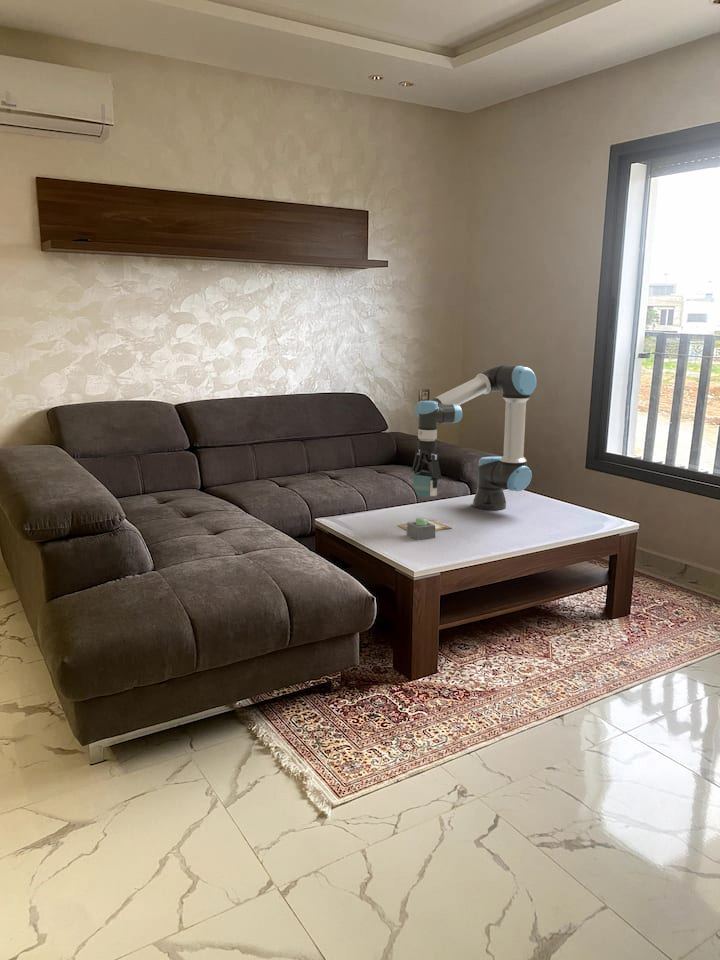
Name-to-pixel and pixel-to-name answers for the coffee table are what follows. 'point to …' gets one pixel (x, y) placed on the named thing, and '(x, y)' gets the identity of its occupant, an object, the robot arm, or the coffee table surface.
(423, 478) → the flower pot
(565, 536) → the coffee table surface
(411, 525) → the button box
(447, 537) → the coffee table surface
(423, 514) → the coffee table surface
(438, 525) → the board
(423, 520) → the button
